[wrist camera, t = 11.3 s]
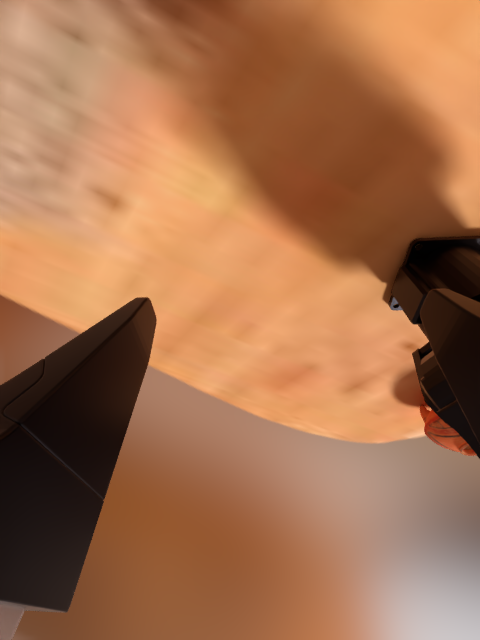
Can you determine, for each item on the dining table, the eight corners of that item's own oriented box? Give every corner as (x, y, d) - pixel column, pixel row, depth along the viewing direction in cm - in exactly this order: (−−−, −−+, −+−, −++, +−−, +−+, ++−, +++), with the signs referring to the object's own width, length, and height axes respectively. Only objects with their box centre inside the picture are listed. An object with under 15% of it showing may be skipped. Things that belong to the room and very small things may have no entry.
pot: (416, 383, 31) (467, 438, 26) (478, 367, 32) (539, 418, 27) (400, 422, 36) (440, 475, 31) (454, 408, 37) (502, 457, 31)
